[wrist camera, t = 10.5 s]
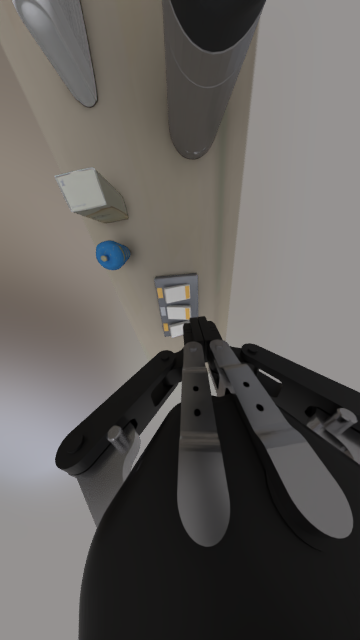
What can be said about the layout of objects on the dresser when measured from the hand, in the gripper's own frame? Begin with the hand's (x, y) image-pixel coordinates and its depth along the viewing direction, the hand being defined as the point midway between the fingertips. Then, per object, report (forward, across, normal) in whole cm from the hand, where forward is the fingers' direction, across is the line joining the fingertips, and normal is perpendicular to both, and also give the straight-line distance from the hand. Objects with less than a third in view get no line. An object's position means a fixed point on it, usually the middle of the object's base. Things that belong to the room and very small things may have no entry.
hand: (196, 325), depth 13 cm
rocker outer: (+24, +2, +17) cm, 30 cm away
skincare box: (+29, +15, -15) cm, 36 cm away
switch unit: (+29, +2, +11) cm, 31 cm away
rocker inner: (+24, +2, +5) cm, 25 cm away
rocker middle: (+24, +2, +11) cm, 27 cm away
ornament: (+29, +14, -6) cm, 33 cm away
